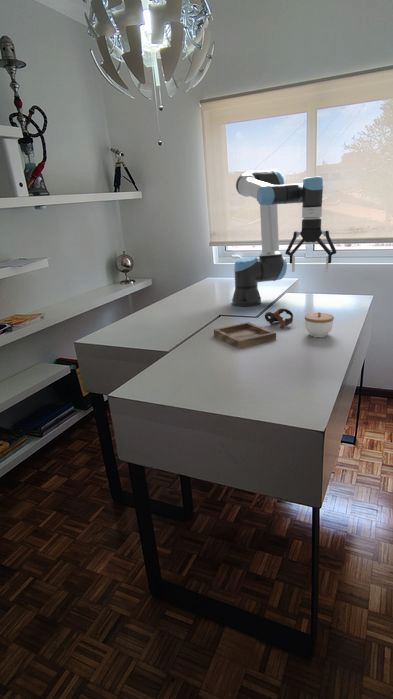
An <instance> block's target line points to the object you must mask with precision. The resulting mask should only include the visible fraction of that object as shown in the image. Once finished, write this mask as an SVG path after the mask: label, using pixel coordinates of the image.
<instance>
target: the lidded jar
mask: <svg viewBox="0 0 393 699" xmlns="http://www.w3.org/2000/svg"><path fill="white" fill-rule="evenodd" d="M334 319H335V316H334V315H333V314H331V313H326V312H322V311H317V312H310V313H307V314H306V315H305V316H304V321H305V322H304V324H305V325H304V326H305V329H306V331H307V333H308V334H309V335H310V336H311V337H312V336H313V338H317V337H321V338H325V336H326V335H329V334H330V332H331V331H332V329H333V325H334ZM326 337H327V336H326Z"/></svg>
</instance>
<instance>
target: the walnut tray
mask: <svg viewBox="0 0 393 699" xmlns="http://www.w3.org/2000/svg"><path fill="white" fill-rule="evenodd" d="M213 337H215V338H217V339H219V340H221V341H224V342H225V343H227V344H229V345H231V346H233V347H235V348H237V349H239V350H240V349H244V348H248V347H253V346H256V345H260V344H264V343H269V342H272V341H276V340H277V332H275V331H272V330H269V329H268V328H265V327H263V326H259V325H256V324H255V323H251V322H249V321H246V322H241V323H238V324H234V325H233V324H232V325H228V326H223V327H219V328H214V329H213Z"/></svg>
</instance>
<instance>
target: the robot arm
mask: <svg viewBox="0 0 393 699" xmlns="http://www.w3.org/2000/svg"><path fill="white" fill-rule="evenodd" d="M323 181H324V180H323V176H307V177H304V178H303V179H302V183H288V184H285V180H284V176H283V174H282V173H281V171H280V170H279V169H262V170H261V169H260V170H248V171H246V172H245V171H244V173H241V174H240V175H239V176H238V178H237V180H236V182H235V189H236V192H237V193H238V194H239V195H240V196H242V197H251V198H254V199H256V202H258V205H259V208H260V209H259V210H260V211H259V214H260V234H261V253H259V256H247V257H242V258H239V259H237V260H235V262H234V269H233V270H234V291H233V295H232V298H231V304H232V306H237V307H253V305H254V306H257V304H258V305H260V304H262V296H261V295H260V292H259V288H258V285H259V284H258V283H263V282H272V281H273V282H276V281H280V280H283V278H284V277H285V275H286V274H287V270H288V268H287V267H288V262H287V259H286V257H284V256H283V253H282V252H281V251H280V244H279V242H280V241H279V240H280V238H279V215H278V205H285V204H286V205H287V204H302V208H301V209H302V210H301V212H302V213H301V214H302V215H301V218H302V220H301V231H297V230H295V231H294V232H293V236H292V239H291V241H290V242H289V245H288V247H287V248H286V250H285V252H284V254H285V255H286V256H287V255H288V256H289V264H291V273H294V272H295V271H296V268H295V267H296V266H295V265H296V254H295V253H296V252H297V251H298V249H299V248H300V247H301V246H302V245H303V243H316V242H317V244H318V245H320V247H322V249H323V250H324V251H325V252H326V256H325V258H326V259H325V272H326V273H328V272H329V264H331V263H332V256H333V255H336V254H337V249H336V247H335V245H334V242H333V241H332V239H331V236H330V231H329V229H326V230H323V231H322V219H321V218H322V214H323V213H322V210H323V192H324V191H323V190H324V185H323ZM321 235H323V236H324V237H325V239H326V240H327V243H328V245H329V247H330V249H329V248H328V246H327V245H326V244H325V243H324V241H323V240H322V239H321V238H320V237H321ZM299 236H301V238H302V239H301V240H300V241H299V242H298V244H297V245H296V246H295V247H294V248H293V245H294V243H295V242H296V239H297V238H299ZM292 248H293V249H292ZM291 250H292V251H291ZM259 303H260V304H259Z"/></svg>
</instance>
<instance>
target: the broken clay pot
mask: <svg viewBox="0 0 393 699" xmlns="http://www.w3.org/2000/svg"><path fill="white" fill-rule="evenodd" d="M284 312H285V313H286V315H289V316H290V317H288V318H284V317H283V316H281V314H283V313H284ZM264 319H265V321H267V322H268V323H269V324H270V325H272V324H273V323H276V322H279V323H280V325H279V328H280V329H284V328H285V327H287V326H289V325H291V324H292V323H293V321H294V314H293V312H292V311H291V310H290V309H287V308H282V307H281V308H278V309H277V310H276V311H274V312H272V311H267V312H265V314H264ZM283 319H284V320H283Z"/></svg>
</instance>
